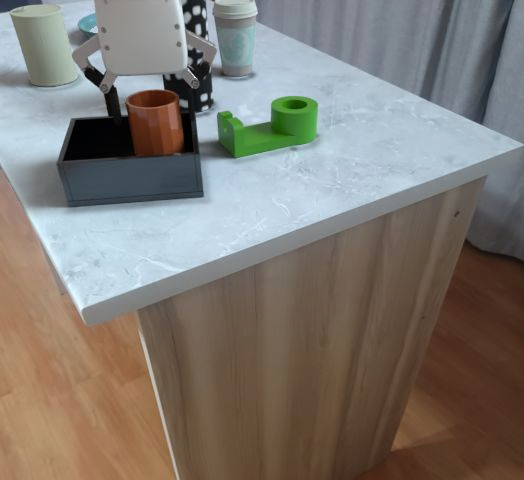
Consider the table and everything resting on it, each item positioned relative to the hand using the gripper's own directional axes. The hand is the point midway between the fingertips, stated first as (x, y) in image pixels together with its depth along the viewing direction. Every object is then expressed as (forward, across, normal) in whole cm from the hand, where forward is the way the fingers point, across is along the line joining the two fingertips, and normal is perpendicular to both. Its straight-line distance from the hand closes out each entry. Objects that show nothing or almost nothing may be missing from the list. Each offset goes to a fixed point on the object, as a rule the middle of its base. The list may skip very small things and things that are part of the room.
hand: (155, 119), depth 68 cm
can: (+7, +21, -43) cm, 49 cm away
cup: (+6, 0, 0) cm, 6 cm away
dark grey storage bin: (+7, +3, +1) cm, 8 cm away
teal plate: (+7, +7, -72) cm, 73 cm away
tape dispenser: (+7, -17, -8) cm, 20 cm away
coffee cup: (+7, -15, -41) cm, 44 cm away
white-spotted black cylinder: (+7, -5, -25) cm, 26 cm away
